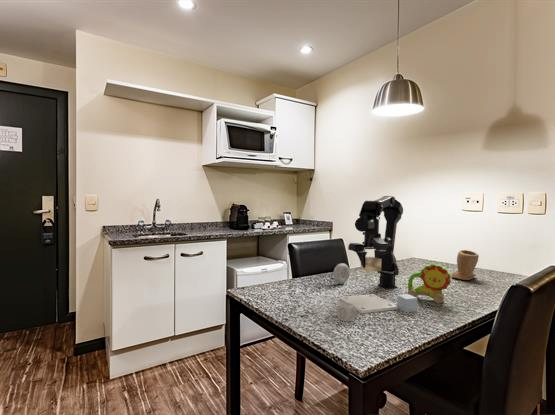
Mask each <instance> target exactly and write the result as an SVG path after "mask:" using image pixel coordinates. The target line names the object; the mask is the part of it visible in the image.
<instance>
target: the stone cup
mask: <svg viewBox="0 0 555 415" xmlns="http://www.w3.org/2000/svg"><path fill="white" fill-rule="evenodd" d="M479 257H480V256H479V253H477V252H475V251H472V250H470V249H469V250H468V249H461V250H459V251H458V253H457V256H456V264H457V270H456V271H455V272H452V273H450V275H451V277H452V278H455V279H458V280H464V281H469V280H472V279H475V277H476V276H477V273H475V272H474V270H475V268H476V266H477V264H478V262H479Z"/></svg>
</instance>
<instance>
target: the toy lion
mask: <svg viewBox="0 0 555 415" xmlns="http://www.w3.org/2000/svg"><path fill="white" fill-rule="evenodd" d="M451 277H452V276H451V273H450V272H449V270H448V269H447V268H446V267H443V266H442V265H441V264H436V263H433V262H432V263H430V264H427V265H425V266H424V267H423V268H422V269H421V270H420V271H416V272H414V273H412V274H411V275H410V277H409V279H408V282H407V290H408V291H407V293H406V294H409V295H411V296H414V297H416V298H417V296H426V297H429V298H431V299H432V300H433V301H434V302H435V303H437V304H441V303H443V302H444V299H445V298H444V297H445V295H444V292H443V290H447V289H448V287H449V286H450V285H451V282H452V280H451ZM415 278H419V279H420V280H421V281H422V282H423V283H422V284H421V285H419V286H417V287H415V286H413V282H414V281H413V280H414V279H415Z"/></svg>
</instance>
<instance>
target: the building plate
mask: <svg viewBox="0 0 555 415" xmlns="http://www.w3.org/2000/svg"><path fill="white" fill-rule="evenodd" d="M338 298H339V299H338V300H339V301H341V303H344V302H346V303H351V304H353V305H354V306H355V307H356V310H357V312H358V313H360V314H367V313H368V314H370V313H378V312H384V311H394V310H395V311H396V310H399V309H398V306H397V304H395V303H392V302H391V301H388V300H386V299H384V298H381V297H379V295H378V296H377V295H376V294H373V293H370V294H359V295H349V296H348V295H347V296H345V295H344V296H340V297H338Z"/></svg>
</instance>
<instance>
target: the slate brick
mask: <svg viewBox="0 0 555 415" xmlns="http://www.w3.org/2000/svg"><path fill="white" fill-rule="evenodd" d="M396 306H398V309H397V310H400V311H402V312H404V313H412V312H418V297H417V296H416V297H414V296H411V295H409V294H407V293H405V294H403V293H402V294H397V295H396Z"/></svg>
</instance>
